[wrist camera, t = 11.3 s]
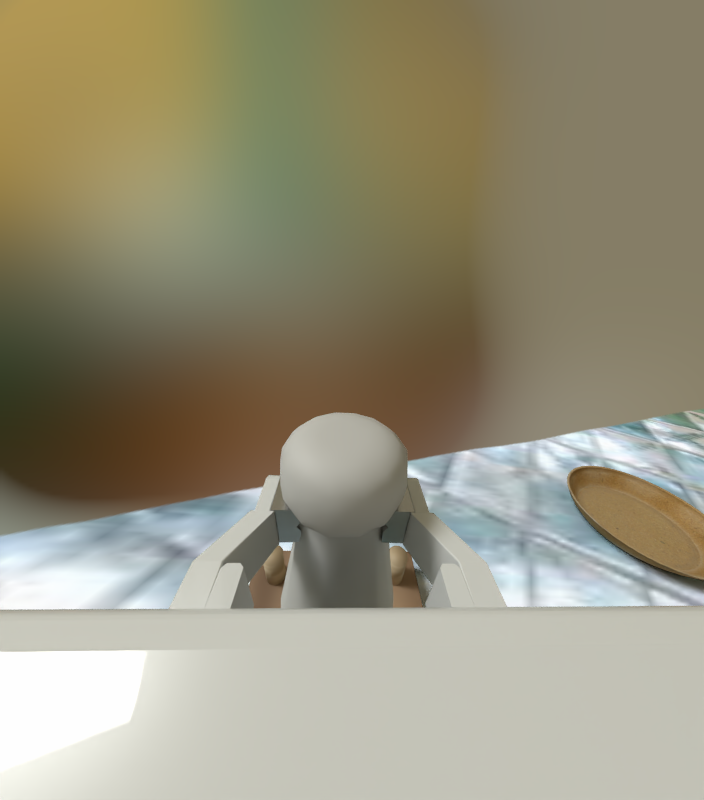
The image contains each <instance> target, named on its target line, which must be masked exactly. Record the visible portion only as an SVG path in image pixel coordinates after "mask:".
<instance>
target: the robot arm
mask: <svg viewBox="0 0 704 800" xmlns="http://www.w3.org/2000/svg"><path fill="white" fill-rule="evenodd" d="M299 524H300V522H299V520H298V519H297V518H296V516H295V515H294V514H293V512H292V511H291V509H290V508H289V507H288V505H287V504H286V503H285V501H284V500H283V496H282V491H281V485H280V476H276V475H269V476H268V477H267V478H266V481H265V484H264V486H263V489H262V492H261V495H260V497H259V500H258V503H257V506H256V509H255V510H252V511H250V512H249V513H247V514H246V515H245V516H244V517H243V518H242V519H241V520H239V521H238V522H237V523H236V524H235V525H234V526H233V527H231V528H230V529H229V530H228V531H227V532H226V533H225V534H223V535H222V536H221V537H220V538H219V539H218V540H217V541H215V542H214V543H213V544H212V545H211V546H210V547H209V548H207V549H206V550H205V551H204V552H203V553H202V554H201V555H199V556H198V557H197V558H196V559H195V560H194V561H193V562H192V564H191V566H190V568H189V570H188V572H187V574H186V576H185V578H184V580H183V582H182V584H181V586H180V587H179V589H178V591H177V593H176V595H175V597H174V599H173V601H172V603H171V605H170V607H169V609H58V610H0V800H704V606H608V607H507V606H506V604H505V602H504V599H503V597H502V595H501V593H500V591H499V589H498V586H497V584H496V582H495V580H494V578H493V576H492V574H491V571H490V569H489V567H488V565H487V563H486V562H485V561H484V560H483V559H482V558H481V557H480V556H479V555H478V554H477V553H475V552H474V551H473V550H472V549H471V548H470V547H469V546H468V545H467V544H466V543H465V542H464V541H463V540H462V539H460V538H459V537H458V536H457V535H456V534H455V533H454V532H453V531H452V530H451V529H450V528H449V527H448V526H447V525H446V524H444V523H443V522H442V521H441V520H440V519H439V518H438V517H437V516H436V515H435V514H434V513H429V510H428V507H427V504H426V501H425V498H424V495H423V492H422V489H421V487H420V484H419V481H418V479H417V478H407V488H406V491H405V494H404V497H403V500H402V502H401V503H400V505H399V506H398V508H397V509H396V511H395V512H394V513H393V515H392V516H391V518H390V519H389V521H388V522H387V523H386V524H385V525H384V526H382V534H381V542H385V543H403V545H404V546H405V548H406V549H407V551H408V552H409V553H410V555H411V556H412V557H413V559H414V560H415V562H416V563H417V564H418V566H419V567H420V569H421V570H422V571H423V573H424V574H425V575H426V577H427V578H428V580H429V581H430V582H431V584H432V585H433V586H432V588H431V591H430V593H429V596H428V598H427V600H426V603H425V606H426V607H416V608H253V607H254V603H253V599H252V596H251V592H250V589H249V585H248V583H249V582H250V581H251V579H252V578H253V577H254V575H255V574H256V573H257V572H258V570H259V569H260V568H261V566H262V565H263V564H264V563H265V561H266V560H267V559H268V557H269V556H270V555H271V554H272V552H273V551H274V550H275V548H276V547H277V546H278V545H279V542H299V540H300V537H301V528H300V526H299Z"/></svg>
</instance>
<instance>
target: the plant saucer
mask: <svg viewBox="0 0 704 800" xmlns="http://www.w3.org/2000/svg"><path fill="white" fill-rule="evenodd" d="M567 484H568V488H569V491H570V494H571V496H572V498H573V500H574V502H575V504H576V506H577V507H578V509H579V510H580V512H581V513H582V515H583V516H584V517H585V518H586V520H587V521H588V522H589V523H590V524H591V525H592V526H593V527H594V528H595V529H596V530H597V531H598V532H599V533H600V534H602V535H603V536H604V537H605V538H606V539H608V540H609V541H610V542H612V543H613V544H614V545H616V546H617V547H619V548H620V549H622V550H624V551H625V552H627V553H629V554H630V555H632V556H634V557H636V558H638V559H640V560H642V561H644V562H646V563H648V564H651V565H653V566H656V567H658V568H661V569H664V570H666V571H669V572H672V573H676V574H679V575H682V576H686V577H690V578H695V579H700V580H704V514H703V513H701V512H700V511H699V510H697V509H696V508H694V507H693V506H692V505H690V504H688V503H687V502H685V501H684V500H682V499H680V498H679V497H677V496H675V495H673V494H672V493H670V492H668V491H666V490H664V489H662V488H660V487H658V486H656V485H654V484H652V483H650V482H648V481H646V480H643V479H641V478H638V477H636V476H633V475H630V474H627V473H624V472H621V471H618V470H614V469H610V468H605V467H599V466H581V467H577V468H575V469H573V470H572V471H571V472H570V473H569V474H568V477H567Z"/></svg>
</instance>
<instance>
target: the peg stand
mask: <svg viewBox="0 0 704 800" xmlns="http://www.w3.org/2000/svg"><path fill="white" fill-rule="evenodd" d="M290 554H291V551H283V549H282V548H281V547H280V546H277V547H276V548H275V550H274V551H273V552H272V554H271V555H270V556H269V557H268V559H267V560H266V561H265V563H264V564H263V565H262V566H261V568H260V569H259V570H258V572H257V573H256V574H255V575H254V577H253V578H252V579H251V581H250V584H249V589H250V592H251V596H252V599H253V603H254V607H253V608H281V595H282V591H283V586H284V582H285V577H286V572H287V568H288V563H289V558H290ZM390 561H391V573H392V585H393V597H394V598H393V608H416V607H422V602H421V598H420V593H419V588H418V584H417V579H416V575H415V570H414V566H413V561H412V557H411V555H410V553H409V552H406V551H405V550H404V549H403V548H402V547H400V546H393V547H391V548H390Z"/></svg>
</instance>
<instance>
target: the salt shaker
mask: <svg viewBox="0 0 704 800" xmlns="http://www.w3.org/2000/svg"><path fill="white" fill-rule="evenodd" d="M280 485H281V491H282V496H283V500H284V501H285V503H286V504H287V505H288V507H289V508H290V509H291V511H292V512H293V514H294V515H295V516H296V518H297V519H298V520H299V522H300V524H299V526H300V528H301V537H300V540H299V542H293V544H292V549H291V554H290V558H289V563H288V568H287V572H286V577H285V582H284V586H283V591H282V595H281V608H393V598H394V597H393V585H392V573H391V561H390V549H389V543H385V542H381V534H382V526H384V525H385V524H386V523H387V522H388V521H389V519H390V518H391V516H392V515H393V513H394V512H395V511H396V509H397V508H398V506H399V505H400V503H401V502H402V500H403V497H404V494H405V491H406V488H407V450H406V448H405V447H404V445H403V444H402V442H401V441H400V439H399V438H398V436H397V435H396V434H395V433H394V432H393V431H391V430H390V429H389V428H388V427H386V426H385V425H383V424H382V423H380V422H378V421H377V420H375V419H373V418H370V417H366V416H362V415H359V414H355V413H332V414H327V415H323V416H318V417H315V418H313V419H312V420H310V421H308V422H306V423H305V424H303V425H301V426H300V427H298V428H297V429H296V430H294V431H293V432H292V434H291V435H290V437H289V438H288V440H287V441H286V443H285V444H284V446H283V447H282V453H281V461H280Z"/></svg>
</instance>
